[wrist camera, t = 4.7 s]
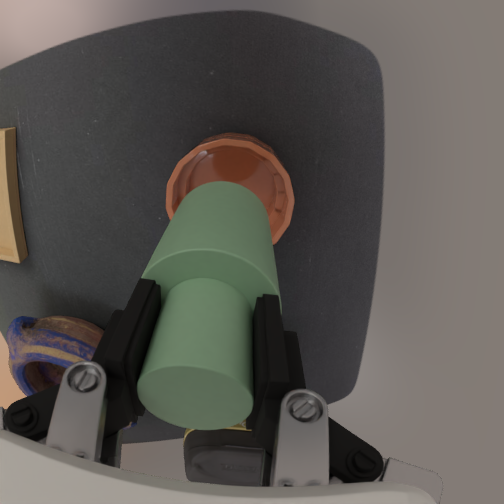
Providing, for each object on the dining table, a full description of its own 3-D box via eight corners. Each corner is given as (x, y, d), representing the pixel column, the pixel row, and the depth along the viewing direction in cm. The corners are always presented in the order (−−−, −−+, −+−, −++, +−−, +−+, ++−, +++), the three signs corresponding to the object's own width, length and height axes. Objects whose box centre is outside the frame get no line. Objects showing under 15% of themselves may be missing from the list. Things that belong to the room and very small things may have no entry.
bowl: (143, 400, 44) (130, 453, 35) (43, 360, 40) (18, 406, 32) (162, 322, 36) (142, 388, 27) (34, 273, 33) (-9, 322, 24)
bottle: (177, 175, 17) (82, 316, 7) (277, 187, 18) (318, 346, 7) (173, 261, 20) (117, 429, 9) (261, 272, 20) (272, 449, 10)
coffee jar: (195, 352, 38) (175, 489, 22) (204, 304, 34) (178, 459, 18) (270, 364, 39) (279, 498, 23) (288, 319, 36) (310, 470, 19)
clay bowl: (184, 126, 26) (170, 133, 21) (295, 141, 26) (304, 150, 22) (176, 228, 30) (164, 252, 26) (276, 240, 31) (280, 267, 27)
